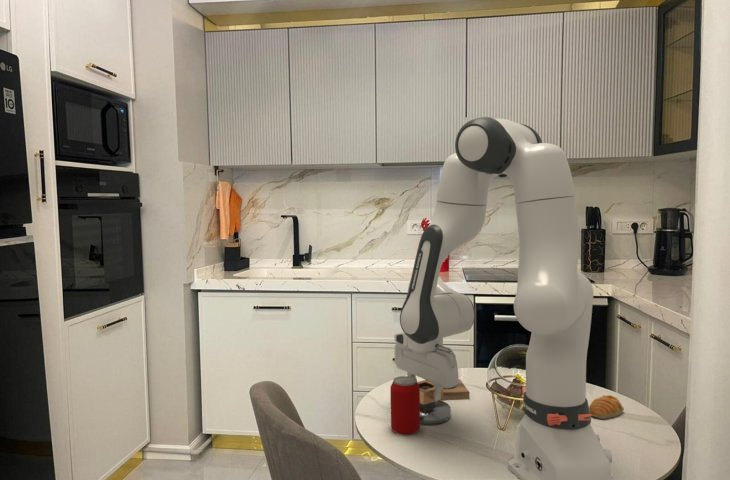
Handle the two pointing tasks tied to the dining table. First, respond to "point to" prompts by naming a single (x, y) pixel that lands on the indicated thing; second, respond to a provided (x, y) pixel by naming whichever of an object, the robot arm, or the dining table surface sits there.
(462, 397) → the walnut stand
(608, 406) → the pastry
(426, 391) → the wooden square frame
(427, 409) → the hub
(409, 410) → the beverage can
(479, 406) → the dining table surface
